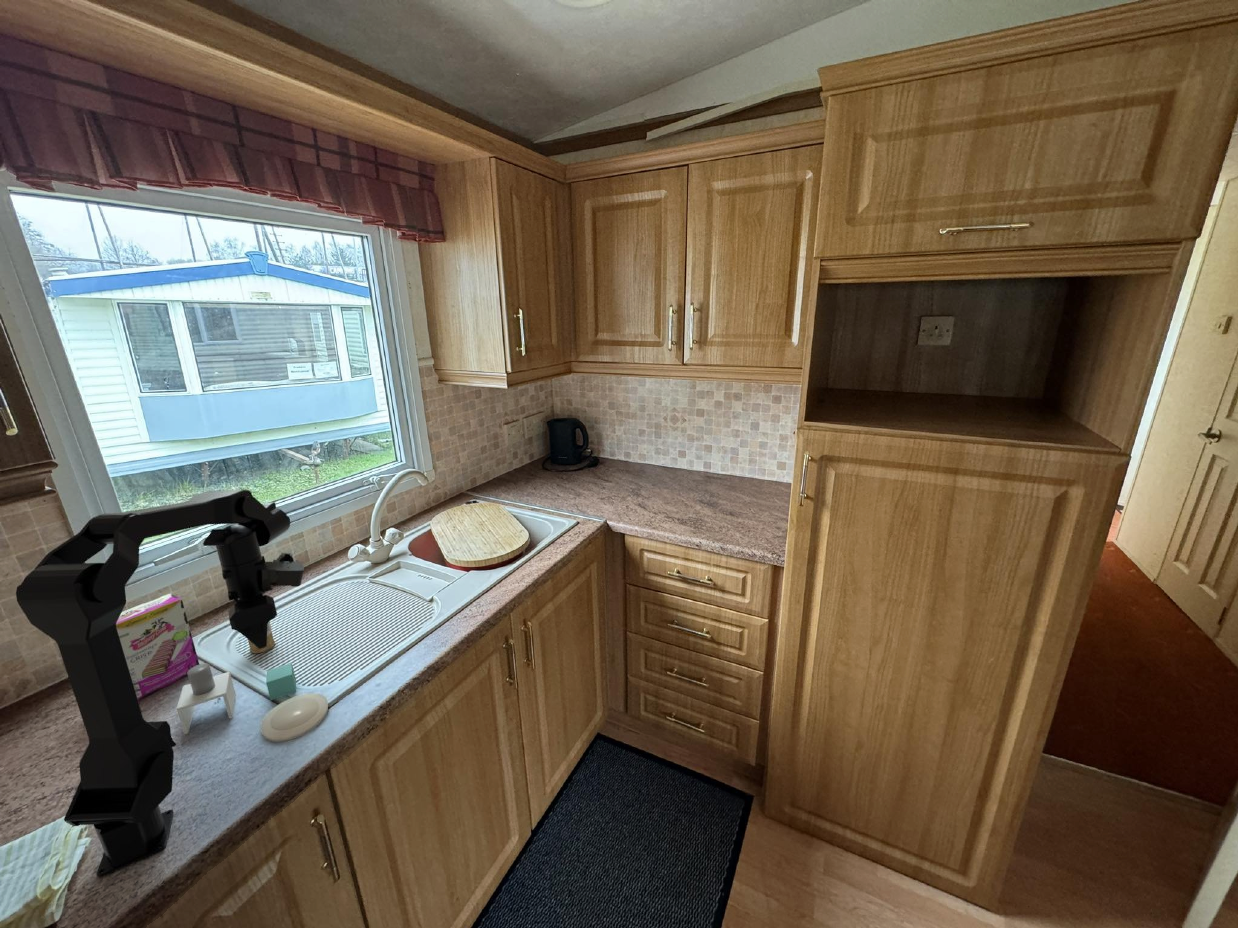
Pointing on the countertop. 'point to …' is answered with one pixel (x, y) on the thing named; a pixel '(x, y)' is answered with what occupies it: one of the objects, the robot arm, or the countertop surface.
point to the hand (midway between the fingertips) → (261, 634)
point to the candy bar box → (156, 643)
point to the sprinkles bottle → (269, 642)
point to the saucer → (294, 717)
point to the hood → (204, 692)
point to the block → (281, 681)
